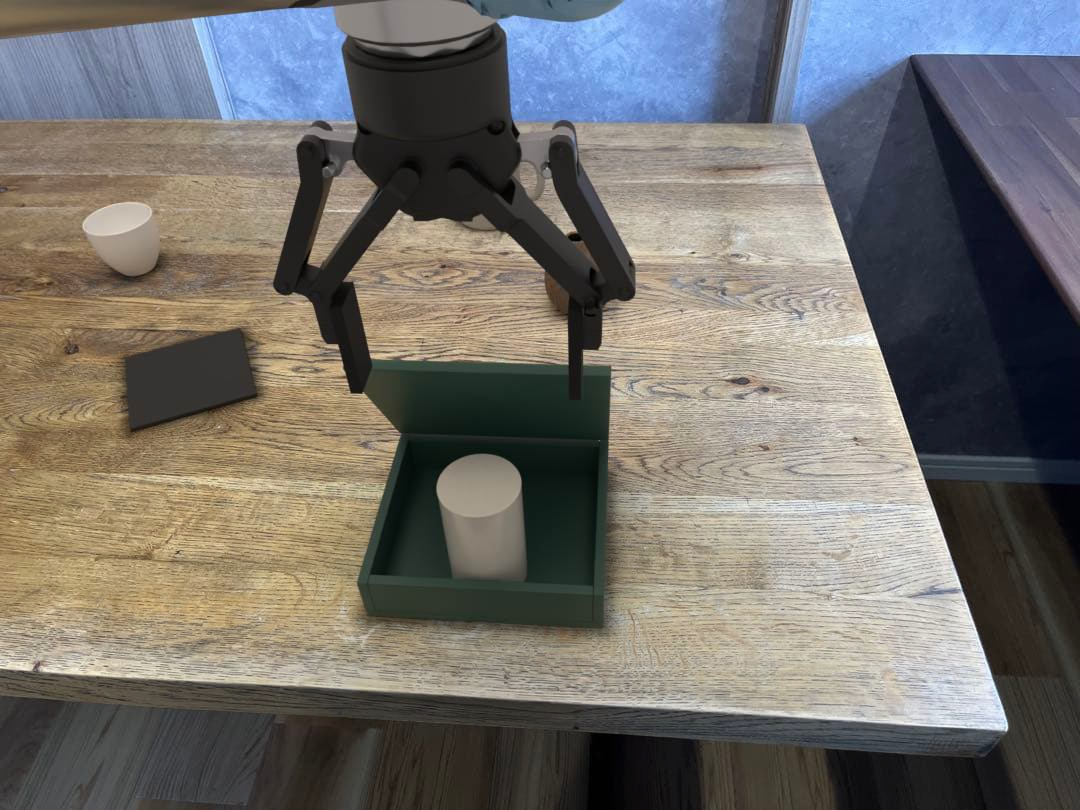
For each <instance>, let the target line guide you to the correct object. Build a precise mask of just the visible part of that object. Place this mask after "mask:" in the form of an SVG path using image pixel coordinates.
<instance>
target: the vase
mask: <svg viewBox="0 0 1080 810" xmlns="http://www.w3.org/2000/svg"><path fill="white" fill-rule="evenodd" d="M565 235H566V236H567V237H568V238H569V239H570V240H571V241H572V242H573V243H574V244H575V245H576V246H577V248H578V249H579V250H580V251H581V252H582V253H583V254H584V255H585V256H586V257H587V258H588V259H589V260H590V261H591V262H592V263H593V264H594V265H595V266H596V267H597V265H596V263H595V261H594V260H593V258H592V256H591V254H590V253H589V251H588V249H587V247H586V246H585V244H584V242H583V240H582V239H581V237H580V235H579V233H578V232H577V230H573V231H569V232H567V233H566V234H565ZM597 268H598V267H597ZM598 269H599V268H598ZM543 276H544V277H543V279H544V288H545V293H546V296H547V297H548V300H549V301H550V303H551V304H552V305H553V306H554V308H556V309H557V310H558V311H560V312H561V313H563V314H565V315H568V304H569V293H568V292H567V291H566V290H565V289H564V288H563V287H562V286H561V285H559V284H558V283H557V282H556V281H555V280H554V279H553V278H552V277H551V276H550V275H549V274H548V273H547V272H546V271H545V270H544V275H543Z"/></svg>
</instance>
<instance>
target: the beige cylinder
mask: <svg viewBox="0 0 1080 810" xmlns="http://www.w3.org/2000/svg"><path fill="white" fill-rule="evenodd" d="M436 489H437V497H438V502H439V508H440V513H441V519H442V524H443V530H444V536H445V541H446V547H447V552H448V558H449V563H450V569H451V574H452V579H467V580H487V581H508V582H524V580H525V578H526V575H527V571H528V562H527V549H526V535H525V522H524V508H523V494H522V481H521V476H520V474H519V472H518V470H517V469H516V467H515V466H514V465H513V464H512V463H511V462H509V461H508V460H506V459H504V458H502V457H499V456H496V455H492V454H473V455H469V456H465V457H462V458H460V459H458V460H456V461H454V462H452V463H451V464H450V465H448V466H447V467H446V468H445V469H444V471H443V472H442V473H441V475H440V477H439V479H438V482H437V488H436Z"/></svg>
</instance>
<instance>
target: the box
mask: <svg viewBox="0 0 1080 810" xmlns="http://www.w3.org/2000/svg"><path fill="white" fill-rule="evenodd" d="M609 449H610V440H579V439H550V438H521V437H492V436H463V435H434V434H405V433H400V436H399V439H398V443H397V446H396V449H395V451H394V455H393V460H392V462H391V465H390V469H389V472H388V475H387V479H386V483H385V486H384V490H383V493H382V496H381V500H380V503H379V506H378V509H377V513H376V517H375V519H374V523H373V527H372V530H371V533H370V537H369V539H368V543H367V547H366V550H365V553H364V557H363V560H362V564H361V567H360V571H359V574H358V577H357V581H356V585H357V588H358V591H359V595H360V597H361V601H362V604H363V607H364V610H365V614H366V616H367V617H382V618H385V617H387V618H403V619H418V620H419V619H422V620H439V621H440V620H441V621H457V622H458V621H459V622H461V621H462V622H477V623H495V624H496V623H497V624H516V625H531V626H550V627H551V626H552V627H570V628H587V629H603V628H604V620H605V619H604V616H605V588H606V587H605V584H606V583H605V582H606V556H607V555H606V554H607V551H606V550H607V549H606V548H607V545H606V544H607V521H608V520H607V518H608V515H607V514H608V483H609V455H610V454H609V452H610V450H609ZM473 454H492V455H496V456H499V457H502V458H504V459H506V460H508V461H509V462H511V463H512V464H513V465H514V466H515V467H516V469H517V470H518V472H519V474H520V476H521V481H522V494H523V508H524V522H525V535H526V549H527V562H528V571H527V575H526V578H525V580H524V582H508V581H487V580H467V579H452V574H451V569H450V563H449V558H448V552H447V547H446V541H445V536H444V530H443V524H442V519H441V513H440V508H439V502H438V497H437V489H436V488H437V482H438V479H439V477H440V475H441V473H442V472H443V471H444V469H445V468H446V467H447V466H448V465H450V464H451V463H452V462H454V461H456V460H458V459H460V458H462V457H465V456H469V455H473Z"/></svg>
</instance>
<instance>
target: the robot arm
mask: <svg viewBox="0 0 1080 810" xmlns="http://www.w3.org/2000/svg"><path fill="white" fill-rule="evenodd" d="M625 1H626V0H0V40H8V39H16V38H26V37H36V36H45V35H52V34H61V33H72V32H79V31H80V32H81V31H90V30H100V29H101V30H102V29H108V28H118V27H127V26H135V25H145V24H155V23H163V22H164V23H165V22H173V21H181V20H182V21H184V20H191V19H201V18H210V17H211V18H212V17H218V16H219V17H220V16H230V15H237V14H245V13H246V14H247V13H256V12H266V11H275V10H287V9H289V10H290V9H321V8H323V9H324V8H332V9H333V14H334V19H335V25H336V27H337V28H338V29H339V30H340V31H341V33H343V34H344V35H346V37H345V39H344V41H343V43H342V45H341V55H342V61H343V66H344V71H345V76H346V81H347V86H348V91H349V96H350V102H351V106H352V112H353V116H354V120H355V123H356V133H353V132H344V131H335V130H334V129H333V127H332V126H331V125H330V123H328V122H327V121H325V120H322V119H319V120H315V121H313V122H312V123H311V125H310V126H309V127H308V129H307V130H306V131H305V133H304V134H303V136H302V138H301V139H300V141H299V142H298V143H297V145H296V148H295V153H296V159H297V160H296V161H297V167H298V175H299V186H298V189H297V193H296V197H295V201H294V203H293V208H292V211H291V214H290V215H291V216H290V219H289V223H288V226H287V231H286V234H285V236H284V241H283V244H282V248H281V253H280V256H279V259H278V264H277V267H276V271H275V274H274V278H273V281H272V286H273V289H274V291H275V292H276V293H278V295H280V296H284V297H285V296H291V295H292V294H298V295H300V296H303V297H305V298H307V300H308V301H309V302H310V303H311V304H312V307H313V309H314V314H315V318H316V321H317V324H318V328H319V331H320V335H321V339H322V340H323V341H324V343H325V344H326V345H337V346H338V350H339V354H340V358H341V360H342V361H341V362H342V367H343V366H344V370H345V371H344V370H343V371H344V373H345V377H346V381H347V384H348V388H349V392H350V394H355V395H363V394H364V392H363V391H364V388H365V386H366V383H367V380H368V377H369V374H370V372H371V369H372V361H371V359H372V357H371V353H370V348H369V345H368V339H367V336H366V331H365V326H364V322H363V318H362V314H361V313H362V312H361V310H360V309H361V308H360V304H359V300H358V295H357V292H356V287H355V282H354V281H345V279H346V278H347V277H348V275H349V274H350V273H351V271H353V269H354V268H355V266H356V265H357V264H358V263H359V261H360V260H361V258H362V257H363V255H364V254H365V253H366V251H368V249H369V247H371V245H372V244H373V242H374V241H375V240H376V238H377V237H378V236H379V235H380V233H381V232H383V231H384V230H385V229H386V227H387V226H388V225H389V223H390V222H391V221H392V220H393V218H394V217H395V216H396V214H397V213H398V212H399V211H400V212H401V213H403V214H405V215H407V216H409V217H412V219H413V222H430V221H435V220H439V219H445V220H449V221H453V222H456V223H462V222H472V221H473V218H474V217H477V216H479V215H481V214H482V215H483V216H484V217H485V218H486V219H487V220H488V221H489V222H490V223H491V224H492V225H493V226H494V227H495V228H496V229H495V230H497V231H498V232H500V233H506V234H507V235H508V236H510V238H511V239H512V240H513V241H515V242H516V243H517V244H518V246H520V247H521V249H523V250H524V252H526V254H528V255H529V256H530V257H531V258H532V259H533V260H534V261H535V262H536V263H537V264H538V265H539V266H540V267H541V268H542V269H543V270H544V272H545V271H546V272H547V273H548V274H549V275H550V276H551V277H552V278H553V279H554V280H555V281H556V282H557V283H558V284H559V285H561V286H562V287H563V288H564V289H565V290H566V291H567V292H568V293H569V304H568V314H567V358H568V359H567V361H568V362H567V365H568V371H569V400H581V397H582V383H583V365H584V351H599V350H600V348H601V346H602V342H603V318H604V317H603V316H604V315H603V314H604V312H603V311H604V307H605V305H606V304H608V303H609V302H611V301H615V300H618V301H619V302H630V301H632V300H633V299H634V298H635V297H636V293H637V291H636V290H637V287H636V285H637V283H636V282H637V280H636V277H637V276H636V273H637V270H636V264H635V263H634V260H633V258H632V257H631V254H630V252H629V251H628V249H627V247H626V244H624V242H623V239H622V238H621V236H620V234H619V233H618V231H617V230H618V229H616V227H615V224H614V223H613V221H612V219H611V218H610V215H609V214H608V212H607V209H606V208H605V205H604V204H603V202H602V200H601V198H600V197H599V195H598V193H597V191H596V189H595V188H594V186H593V183H592V182H591V180H590V178H589V176H588V174H587V172H586V171H585V169H584V167H583V165H582V162H581V161H580V153H579V152H580V151H579V146H578V145H579V144H578V138H577V137H578V136H577V129H576V127H575V125H574V124H573V122H571V121H570V120H568V119H561V120H560V119H559V120H558V121H556V122H555V123H554V124H553V126H552V128H551V130H542V131H531V132H523V133H521V132H520V131H519V129H518V128H517V126H516V123H515V121H514V118H513V114H512V104H511V102H512V101H511V89H510V88H511V87H510V86H511V85H510V72H509V55H508V37H507V33H506V32H505V29H503V28H502V26H501V25H500V24H499V23H498V22H499V20H505V19H510V18H512V17H513V16H514V17H521V18H530V19H537V20H545V21H549V22H550V21H551V22H557V23H577V22H581V21H588V20H592V19H597V18H598V17H599V18H600V17H601V16H603V15H605V14H607V13H609V12H611V11H613V10H614V9H616V8H618V6H620V5H621V4H623V3H624V2H625ZM522 160H525V161H529V162H531V163H533V164H534V165H535V167H536V169H537V171H538V173H539V174H540V175H541V176H542V177H543V178H545V180H550V179H551V180H552V184H553V188H554V191H555V193H556V196H557V198H558V200H559V202H560V203H561V205H562V207H563V209H564V210H565V212H566V214H567V216H568V217H569V218H568V219H570V220H571V223H572V225H573V226H574V228H575V231H577V232H578V233H579V235H580V237H581V239H582V240H583V242H584V244H585V246H586V247H587V249H588V251H589V253H590V254H591V256H592V258H593V260H594V261H595V263H596V265H597V267H598V268H599V269H598V268H597V267H596V266H595V265H594V264H593V263H592V262H591V261H590V260H589V259H588V258H587V257H586V256H585V255H584V254H583V253H582V252H581V251H580V250H579V249H578V248H577V246H576V245H575V244H574V243H573V242H572V241H571V240H570V239H569V238H568V237H567V236H566V234H565V233H564V232H563V231H562V230H561V229H560V227H558V226H557V224H556V223H555V222H553V220H552V219H551V218H550V217H549V216H547V214H546V213H544V211H543V210H542V209H541V208H540V207H539V206H538V205H537V204H536V203H535V201H532V200H531V199H530V198H529V197H528V195H527V193H526V191H525V189H526V188H525V187H524V186H523V184H522V182H521V183H520V182H519V181H518V180H517V179H516V178H515V177H514V176H513V174H514V172H515V171H516V169H517V168H518V166H519V167H520V164H521V163H522V162H521V161H522ZM350 161H354V163H355V165H356V166H357V167H358V169H360V170H361V171H362V173H363V174H364V175H365V176H366V177H367V178H368V179H369V180H370V181H371V182H372V183H373V184H374V185H375V186H376V188H375V189H374V191H373V193H372V194H371V196H370V197H369V198H368V200H367V201H366V203H365V204H364V205H363V207H362V208H361V210H360V211H359V212H358V213H357V215H356V216H355V218H354V219H353V221H352V222H351V223H350V224H349V226H348V228H347V229H346V230H345V232H344V233H343V234H342V235H341V237H340V239H339V240H337V243H336V244H335V246H334V247H333V249H332V250H331V251H330V252H329V254H328V255H327V257H326V258H325V259H324V260H322V262H321V264H320V266H316V265H314V264H311V263H310V264H309V261H310V257H311V254H312V251H313V247H314V245H315V240H316V238H317V233H318V231H319V227H320V224H321V221H322V217H323V214H324V211H325V208H326V204H327V201H328V197H329V194H330V191H331V188H332V184H333V181H334V178H336V177H339V176H340V175H341V174H342V172H343V170H344V168H345V167H346V166H347V162H350ZM520 162H521V163H520ZM524 188H525V189H524Z"/></svg>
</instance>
